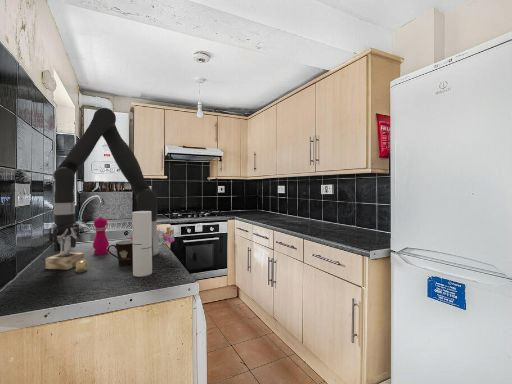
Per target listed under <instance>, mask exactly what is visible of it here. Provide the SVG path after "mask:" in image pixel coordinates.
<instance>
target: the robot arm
mask: <svg viewBox="0 0 512 384" xmlns="http://www.w3.org/2000/svg"><path fill="white" fill-rule="evenodd" d="M116 122H117V118H116V114H115V112H114V111H113V110H112V109H110V108H108V107H100V108H98V109H96V110H95V112H94V114H93V117H92V119H91V121H90V124H89V125H88V127H87V128H86V130H85V131H84V133H83V134H82V136H80V138H78V140H77V142H76V143H75V144H74V145H73V147H72V148H71V149H70V151H69V152H68V153H67V155H66V157H65V158H64V159H63V160H62V162H61V163H60V164H59V165H58V167H57V168H56V169H55V170H54V172H53V179H54V185H55V186H54V187H55V191H54V206H53V216H54V217H53V222H54V225H56V227H55V228H49V234H48V236H49V238H48V239H49V240H48V242H49V244H53V251H54V252H55V253H60V251H61V243H60V242H61V240H62V239H63V238H66V237H68V238H71V249H72V248H76V245H77V243H76V242H77V238H79V237H80V224H79V223H76V206H75V194H74V190H75V174H76V173H77V172H78V170H79V169H80V168H81V167H82V166H83V165H84V164H85V162H86V161H87V160H88V158H89V157H90V155H91V154H92V152H93V150H94V149H95V148H96V145H97V143H98V142H99V140H100V139H101V137H103V139H104V141H105V142H106V145H107V148H108V149H109V152H110V154H111V155H112V157H113V158H112V159H114V162H115V164H116V165H117V167H118V169H119V170H120V172H121V174H122V175H123V177H124V178H125V179H126V180H127V182H128V184H129V186H131V189H132V191H133V194H134V195H135V198H136V203H137V205H136V207H137V209H136V211H151V218H152V257H154V256H156V255H158V254H159V252H160V251H159V250H160V249H159V236H158V235H157V229H158V225H157V222H158V220H157V219H158V197H157V194H156V193H155V191H153V190H152V188H151V187H150V186H149V184H148V183H147V181H146V178H145V177H144V174H143V171H142V169H141V168H142V167H141V166H140V164H139V161H138V159H137V158H136V156H135V154H134V152H133V150H132V149H131V147H130V146H129V145H128V144H127V142H126V141H125V140H124V139H123V138H122V137H121V134H120V133H119V129H118V128H117V126H116Z"/></svg>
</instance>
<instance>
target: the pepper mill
mask: <svg viewBox="0 0 512 384" xmlns="http://www.w3.org/2000/svg"><path fill="white" fill-rule="evenodd" d="M107 224H108V221H107V219H106V218H104V217H103V215H102V214H99V215H98V217H97V218H96V219H95V220H94V221H93V226H94V227H95V228H94V231H95V232H96V233H95V237H94V241H93V243H92V248H93V249H94V252H93V254H94V255H96V256H101V255H106V254H108V253H109V252H108V247H109V246H110V244H109V240H108V238H107V236H106V235H107V234H106V230H107V227H106V226H107Z"/></svg>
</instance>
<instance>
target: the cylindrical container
mask: <svg viewBox="0 0 512 384" xmlns="http://www.w3.org/2000/svg"><path fill="white" fill-rule="evenodd" d="M131 214H132V215H131V218H132V219H131V221H132V222H131V224H132V225H131V226H132V228H131V229H132V236H133V265H132V276H133V277H146V276H150V275H152V274H153V256H152V218H151V211H137V210H136V211H132V213H131Z"/></svg>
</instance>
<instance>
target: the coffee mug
mask: <svg viewBox="0 0 512 384" xmlns="http://www.w3.org/2000/svg"><path fill="white" fill-rule="evenodd" d="M111 247H114V248H115V249H116V254H114V253H112V252H111V251H110V248H111ZM107 249H108V253H109V254H110V255H111V256H113V257H114V258H116V259H117V261H118V266H120V267H129V266H133V240H131V239H125V240H119V241H116V242H115V244H111V245H110V244H109V246H108V247H107Z"/></svg>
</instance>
